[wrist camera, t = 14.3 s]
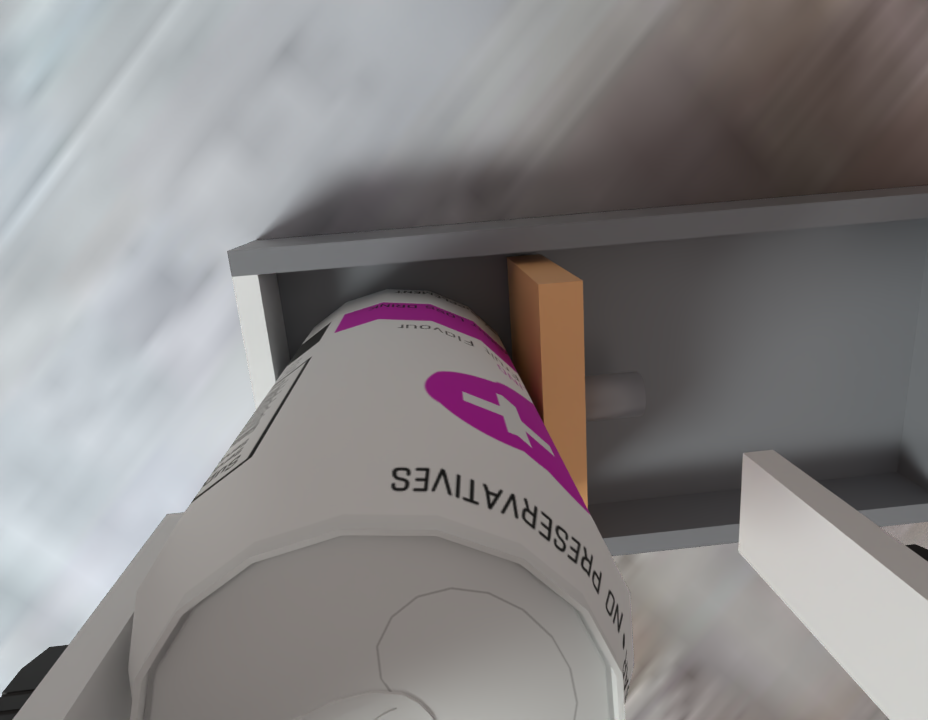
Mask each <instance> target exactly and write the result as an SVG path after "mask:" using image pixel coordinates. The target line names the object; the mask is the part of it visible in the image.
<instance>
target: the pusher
mask: <svg viewBox="0 0 928 720" xmlns="http://www.w3.org/2000/svg"><path fill="white" fill-rule="evenodd" d="M507 269H508V287H509V305H510V323H511V341H512V359H513V365H514V367H515V369H516V371H517V373H518V375H519V377H520V379H521V381H522V382H523V384H524V386H525V388H526V390H527V392H528V394H529V396H530V398H531V400H532V402H533V404H534V406H535V408H536V410H537V412H538V414H539V416H540V417H541V419H542V421H543V423H544V425H545V427H546V429H547V431H548V433H549V435H550V437H551V439H552V441H553V443H554V445H555V447H556V449H557V451H558V452H559V454H560V456H561V458H562V460H563V462H564V464H565V466H566V468H567V470H568V472H569V474H570V476H571V478H572V480H573V482H574V484H575V486H576V487H577V489H578V491H579V493H580V495H581V497H582V499H583V501H584V503H585V505H586V507H587V509H588V497H587V450H586V421H596V420H606V419H616V418H626V417H636V416H642V415H643V414H644V412H645V408H646V393H645V387H644V383H643V380H642V377H641V375H640V374H639V373H638V372H637V371H633V372H623V373H612V374H602V375H591V376H585V357H584V310H583V280H581V279H579V278H578V277H576V276H575V275H573V274H571V273H570V272H568V271H567V270H565V269H563V268H562V267H560V266H558V265H557V264H555V263H554V262H552V261H550V260H549V259H547V258H546V257H544V256H542V255H541V254H536V255H524V256H513V257H507Z"/></svg>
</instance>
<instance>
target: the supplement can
mask: <svg viewBox="0 0 928 720" xmlns="http://www.w3.org/2000/svg"><path fill="white" fill-rule="evenodd" d="M633 668H634V651H633V633H632V615H631V597H630V591H629V589H628V587H627V585H626V583H625V581H624V579H623V577H622V575H621V573H620V571H619V570H618V568H617V566H616V564H615V562H614V560H613V558H612V556H611V554H610V552H609V550H608V548H607V546H606V544H605V542H604V540H603V538H602V536H601V534H600V532H599V530H598V528H597V526H596V524H595V522H594V521H593V519H592V517H591V515H590V513H589V511H588V509H587V507H586V505H585V503H584V501H583V499H582V497H581V495H580V493H579V491H578V489H577V487H576V486H575V484H574V482H573V480H572V478H571V476H570V474H569V472H568V470H567V468H566V466H565V464H564V462H563V460H562V458H561V456H560V454H559V452H558V451H557V449H556V447H555V445H554V443H553V441H552V439H551V437H550V435H549V433H548V431H547V429H546V427H545V425H544V423H543V421H542V419H541V417H540V416H539V414H538V412H537V410H536V408H535V406H534V404H533V402H532V400H531V398H530V396H529V394H528V392H527V390H526V388H525V386H524V384H523V382H522V381H521V379H520V377H519V375H518V373H517V371H516V369H515V367H514V365H513V363H512V361H511V359H510V357H509V355H508V353H507V351H506V349H505V347H504V346H503V344H502V342H501V340H500V338H499V336H498V334H497V333H496V332H495V331H494V330H493V329H492V328H491V327H490V326H489V325H487V324H486V323H485V322H484V321H483V320H482V319H481V318H480V317H479V316H478V315H476V314H475V313H474V312H473V311H472V310H471V309H470V308H469V307H468V306H465V305H463V304H460V303H458V302H455V301H453V300H450V299H448V298H445V297H443V296H441V295H438V294H436V293H433V292H431V291H420V290H395V289H386V290H383V291H379V292H376V293H373V294H370V295H367V296H364V297H360V298H357V299H354V300H351V301H348V302H346V303H345V304H343V305H342V306H341V307H339V308H338V309H337V310H336V311H334V312H333V313H332V314H330V315H329V316H328V317H327V318H325V319H324V320H323V321H321V322H320V323H319V324H318V325H316V326H315V327H314V328H313V330H312V331H311V332H310V334H309V335H308V337H307V338H306V340H305V341H304V342H303V344H302V345H301V347H300V348H299V350H298V351H297V352H296V354H295V355H294V357H293V358H292V360H291V361H290V362H289V364H288V365H287V367H286V368H285V370H284V371H283V372H282V374H281V375H280V377H279V378H278V380H277V381H276V382H275V384H274V385H273V387H272V388H271V390H270V391H269V392H268V394H267V395H266V397H265V398H264V400H263V401H262V402H261V404H260V405H259V407H258V408H257V410H256V411H255V412H254V414H253V415H252V417H251V418H250V420H249V421H248V422H247V424H246V425H245V427H244V428H243V430H242V431H241V432H240V434H239V435H238V437H237V438H236V440H235V441H234V442H233V444H232V445H231V447H230V448H229V450H228V451H227V452H226V454H225V455H224V457H223V458H222V460H221V461H220V462H219V464H218V465H217V467H216V468H215V470H214V471H213V472H212V474H211V475H210V477H209V478H208V480H207V481H206V482H205V484H204V485H203V487H202V488H201V490H200V491H199V492H198V494H197V495H196V497H195V498H194V500H193V501H192V502H191V504H190V505H189V507H188V508H187V510H186V511H185V512H184V514H183V515H182V517H181V518H180V520H179V521H178V523H177V525H176V526H175V528H174V530H173V531H172V533H171V535H170V536H169V538H168V540H167V541H166V543H165V545H164V546H163V548H162V550H161V552H160V553H159V555H158V557H157V558H156V560H155V562H154V563H153V565H152V567H151V568H150V570H149V572H148V573H147V575H146V577H145V578H144V580H143V582H142V584H141V585H140V587H139V589H138V590H137V592H136V600H135V609H134V618H133V627H132V636H131V646H130V655H129V664H128V673H129V681H130V688H131V696H132V707H131V716H130V720H625V702H626V697H627V693H628V689H629V685H630V680H631V676H632V672H633Z"/></svg>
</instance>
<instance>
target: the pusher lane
mask: <svg viewBox="0 0 928 720" xmlns="http://www.w3.org/2000/svg"><path fill="white" fill-rule="evenodd" d="M227 253H228V258H229V264H230V269H231V275H232V280H233V286H234V292H235V297H236V303H237V308H238V314H239V319H240V325H241V330H242V336H243V341H244V347H245V353H246V358H247V364H248V369H249V375H250V380H251V386H252V391H253V397H254V402H255V408H256V410H257V408H258V407H259V405H260V404H261V402H262V401H263V400H264V398H265V397H266V395H267V394H268V392H269V391H270V390H271V388H272V387H273V385H274V384H275V382H276V381H277V380H278V378H279V377H280V375H281V374H282V372H283V371H284V370H285V368H286V367H287V365H288V364H289V362H290V361H291V360H292V358H293V357H294V355H295V354H296V352H297V351H298V350H299V348H300V347H301V345H302V344H303V342H304V341H305V340H306V338H307V337H308V335H309V334H310V332H311V331H312V330H313V328H314V327H315V326H316V325H318V324H319V323H320V322H321V321H323V320H324V319H325V318H327V317H328V316H329V315H330V314H332V313H333V312H334V311H336V310H337V309H338V308H339V307H341V306H342V305H343V304H345V303H346V302H348V301H351V300H354V299H357V298H360V297H364V296H367V295H370V294H373V293H376V292H379V291H383V290H386V289H395V290H420V291H431V292H433V293H436V294H438V295H441V296H443V297H445V298H448V299H450V300H453V301H455V302H458V303H460V304H463V305H465V306H468V307H469V308H470V309H471V310H472V311H473V312H474V313H475V314H476V315H478V316H479V317H480V318H481V319H482V320H483V321H484V322H485V323H486V324H487V325H489V326H490V327H491V328H492V329H493V330H494V331H495V332H496V333H497V334H498V336H499V338H500V340H501V342H502V344H503V346H504V347H505V349H506V351H507V353H508V355H509V357H510V359H511V361H512V363H513V359H512V341H511V323H510V305H509V287H508V269H507V257H513V256H524V255H536V254H541V255H542V256H544V257H546V258H547V259H549V260H550V261H552V262H554V263H555V264H557V265H558V266H560V267H562V268H563V269H565V270H567V271H568V272H570V273H571V274H573V275H575V276H576V277H578V278H579V279H581V280H583V310H584V357H585V376H591V375H602V374H612V373H623V372H633V371H637V372H638V373H639V374H640V375H641V377H642V380H643V383H644V387H645V393H646V408H645V412H644V414H643V415H642V416H636V417H626V418H616V419H606V420H596V421H586V450H587V497H588V511H589V513H590V515H591V517H592V519H593V521H594V522H595V524H596V526H597V528H598V530H599V532H600V534H601V536H602V538H603V540H604V542H605V544H606V546H607V548H608V550H609V552H610V554H611V556H619V555H628V554H637V553H646V552H655V551H664V550H673V549H682V548H692V547H701V546H710V545H719V544H728V543H737V542H739V528H740V506H741V485H742V463H743V453H747V452H756V451H766V450H774V451H776V452H777V453H778V454H780V455H781V456H782V457H784V458H785V459H787V460H788V461H789V462H791V463H792V464H793V465H795V466H796V467H798V468H799V469H800V470H802V471H803V472H805V473H806V474H807V475H809V476H810V477H811V478H813V479H814V480H816V481H817V482H818V483H820V484H821V485H822V486H824V487H825V488H827V489H828V490H829V491H831V492H832V493H834V494H835V495H836V496H838V497H839V498H840V499H842V500H843V501H845V502H846V503H847V504H849V505H850V506H851V507H853V508H854V509H856V510H857V511H858V512H860V513H861V514H863V515H864V516H865V517H867V518H868V519H869V520H871V521H872V522H874V523H875V524H876V525H878V526H879V527H883V526H892V525H901V524H910V523H919V522H928V185H924V186H912V187H900V188H887V189H875V190H863V191H851V192H839V193H826V194H814V195H802V196H790V197H778V198H766V199H753V200H741V201H729V202H717V203H705V204H692V205H680V206H668V207H656V208H644V209H632V210H619V211H607V212H595V213H583V214H571V215H558V216H546V217H534V218H522V219H510V220H497V221H485V222H473V223H461V224H449V225H437V226H424V227H412V228H400V229H388V230H376V231H363V232H351V233H339V234H327V235H315V236H303V237H290V238H278V239H266V240H255V241H252V242H250V243H247V244H244V245H242V246H239V247H237V248H234V249H232V250H229V251H227Z"/></svg>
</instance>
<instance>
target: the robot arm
mask: <svg viewBox="0 0 928 720" xmlns="http://www.w3.org/2000/svg"><path fill="white" fill-rule="evenodd" d="M183 514H184V512H182V513H173V514H167V515H166V516H165V517H164V519H163V520H162V521H161V523H160V524H159V525H158V527H157V528H156V529H155V531H154V532H153V533H152V535H151V536H150V537H149V539H148V540H147V541H146V543H145V544H144V545H143V547H142V548H141V549H140V551H139V552H138V553H137V555H136V556H135V557H134V559H133V560H132V561H131V563H130V564H129V565H128V567H127V568H126V569H125V571H124V572H123V573H122V575H121V576H120V577H119V579H118V580H117V581H116V583H115V584H114V585H113V587H112V588H111V589H110V591H109V592H108V593H107V595H106V596H105V597H104V599H103V600H102V601H101V603H100V604H99V605H98V607H97V608H96V609H95V611H94V612H93V613H92V615H91V616H90V617H89V619H88V620H87V621H86V623H85V624H84V625H83V627H82V628H81V629H80V631H79V632H78V633H77V635H76V636H75V637H74V639H73V640H72V641H71V643H70V644H69V645H63V646H55V647H49V648H48V649H47V650H45V651H44V652H43V653H41V654H40V655H39V656H38V657H36V658H35V659H34V660H32V661H31V662H30V663H28V664H27V665H26V666H25V667H23V668H22V669H21V670H20V671H19V673H18V674H17V675H16V676H15V678H14V679H13V680H12V681H11V682H10V684H9V685H8V686H7V687H6V689H5V690H4V691H3V692H2V697H0V720H130V716H131V707H132V696H131V688H130V681H129V673H128V664H129V655H130V646H131V636H132V627H133V618H134V609H135V600H136V592H137V590H138V589H139V587H140V585H141V584H142V582H143V580H144V578H145V577H146V575H147V573H148V572H149V570H150V568H151V567H152V565H153V563H154V562H155V560H156V558H157V557H158V555H159V553H160V552H161V550H162V548H163V546H164V545H165V543H166V541H167V540H168V538H169V536H170V535H171V533H172V531H173V530H174V528H175V526H176V525H177V523H178V521H179V520H180V518H181V517H182V515H183ZM738 552H739V553H740V554H741V555H742V556H743V557H744V558H745V559H746V560H747V562H748V563H749V564H750V565H751V566H752V567H753V568H754V569H755V570H756V572H757V573H758V574H759V575H760V576H761V577H762V578H763V579H764V580H765V582H766V583H767V584H768V585H769V586H770V587H771V588H772V589H773V590H774V592H775V593H776V594H777V595H778V596H779V597H780V598H781V599H782V600H783V602H784V603H785V604H786V605H787V606H788V607H789V608H790V609H791V610H792V612H793V613H794V614H795V615H796V616H797V617H798V618H799V619H800V620H801V622H802V623H803V624H804V625H805V626H806V627H807V628H808V629H809V631H810V632H811V633H812V634H813V635H814V636H815V637H816V638H817V639H818V641H819V642H820V643H821V644H822V645H823V646H824V647H825V648H826V649H827V651H828V652H829V653H830V654H831V655H832V656H833V657H834V658H835V659H836V661H837V662H838V663H839V664H840V665H841V666H842V667H843V668H844V669H845V671H846V672H847V673H848V674H849V675H850V676H851V677H852V678H853V679H854V681H855V682H856V683H857V684H858V685H859V686H860V687H861V688H862V689H863V691H864V692H865V693H866V694H867V695H868V696H869V697H870V698H871V699H872V701H873V702H874V703H875V704H876V705H877V706H878V707H879V708H880V709H881V711H882V712H883V713H884V714H885V715H886V716H887V717H888V718H889V719H890V720H928V550H927V549H925V548H923V547H920V546H918V545H916V544H913V545H904V544H903V543H901V542H900V541H898V540H897V539H896V538H894V537H893V536H892V535H890V534H889V533H887V532H886V531H885V530H883V529H882V528H880V527H879V526H878V525H876V524H875V523H874V522H872V521H871V520H869V519H868V518H867V517H865V516H864V515H863V514H861V513H860V512H858V511H857V510H856V509H854V508H853V507H851V506H850V505H849V504H847V503H846V502H845V501H843V500H842V499H840V498H839V497H838V496H836V495H835V494H834V493H832V492H831V491H829V490H828V489H827V488H825V487H824V486H822V485H821V484H820V483H818V482H817V481H816V480H814V479H813V478H811V477H810V476H809V475H807V474H806V473H805V472H803V471H802V470H800V469H799V468H798V467H796V466H795V465H793V464H792V463H791V462H789V461H788V460H787V459H785V458H784V457H782V456H781V455H780V454H778V453H777V452H776V451H774V450H766V451H756V452H747V453H743V463H742V485H741V506H740V528H739V550H738Z"/></svg>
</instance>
